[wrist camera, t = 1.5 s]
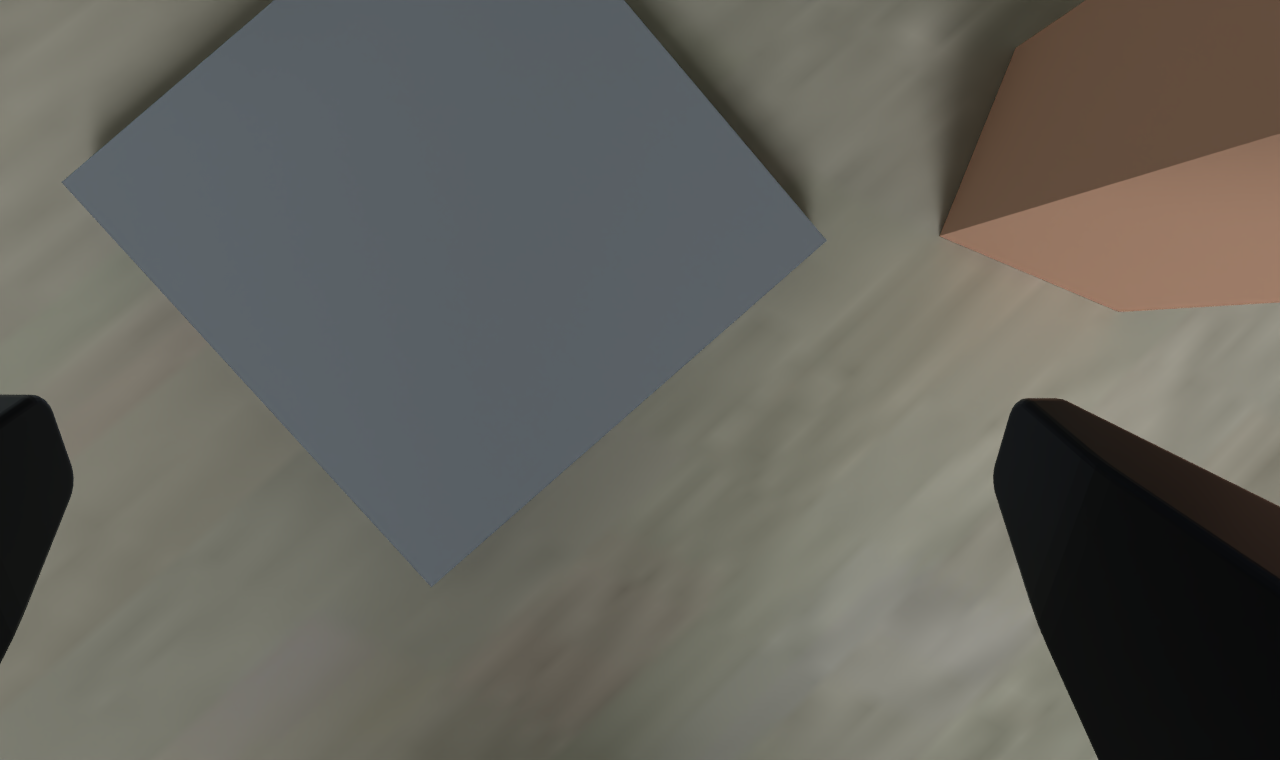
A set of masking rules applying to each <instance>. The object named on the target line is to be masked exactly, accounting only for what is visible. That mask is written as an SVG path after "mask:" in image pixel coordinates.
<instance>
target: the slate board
mask: <svg viewBox="0 0 1280 760" xmlns="http://www.w3.org/2000/svg"><path fill="white" fill-rule="evenodd" d="M62 183H63V184H64V185H65V187H66V188H67V189H68V190H69V191H70V192H71V193H72V194H73V195H74V196H75V198H76V199H77V200H78V201H79V202H80V203H81V204H82V205H83V206H84V207H85V208H86V210H87V211H88V212H89V213H90V214H91V215H92V216H93V217H94V218H95V219H96V220H97V222H98V223H99V224H100V225H101V226H102V227H103V228H104V229H105V230H106V231H107V233H108V234H109V235H110V236H111V237H112V238H113V239H114V240H115V241H116V242H117V243H118V245H119V246H120V247H121V248H122V249H123V250H124V251H125V252H126V253H127V254H128V256H129V257H130V258H131V259H132V260H133V261H134V262H135V263H136V264H137V265H138V266H139V268H140V269H141V270H142V271H143V272H144V273H145V274H146V275H147V276H148V277H149V279H150V280H151V281H152V282H153V283H154V284H155V285H156V286H157V287H158V288H159V289H160V291H161V292H162V293H163V294H164V295H165V296H166V297H167V298H168V299H169V300H170V302H171V303H172V304H173V305H174V306H175V307H176V308H177V309H178V310H179V311H180V312H181V314H182V315H183V316H184V317H185V318H186V319H187V320H188V321H189V322H190V323H191V324H192V326H193V327H194V328H195V329H196V330H197V331H198V332H199V333H200V334H201V335H202V337H203V338H204V339H205V340H206V341H207V342H208V343H209V344H210V345H211V346H212V347H213V349H214V350H215V351H216V352H217V353H218V354H219V355H220V356H221V357H222V358H223V360H224V361H225V362H226V363H227V364H228V365H229V366H230V367H231V368H232V369H233V370H234V372H235V373H236V374H237V375H238V376H239V377H240V378H241V379H242V380H243V381H244V383H245V384H246V385H247V386H248V387H249V388H250V389H251V390H252V391H253V392H254V393H255V395H256V396H257V397H258V398H259V399H260V400H261V401H262V402H263V403H264V404H265V405H266V407H267V408H268V409H269V410H270V411H271V412H272V413H273V414H274V415H275V416H276V418H277V419H278V420H279V421H280V422H281V423H282V424H283V425H284V426H285V427H286V428H287V430H288V431H289V432H290V433H291V434H292V435H293V436H294V437H295V438H296V439H297V441H298V442H299V443H300V444H301V445H302V446H303V447H304V448H305V449H306V450H307V451H308V453H309V454H310V455H311V456H312V457H313V458H314V459H315V460H316V461H317V462H318V464H319V465H320V466H321V467H322V468H323V469H324V470H325V471H326V472H327V473H328V474H329V476H330V477H331V478H332V479H333V480H334V481H335V482H336V483H337V484H338V485H339V486H340V488H341V489H342V490H343V491H344V492H345V493H346V494H347V495H348V496H349V497H350V499H351V500H352V501H353V502H354V503H355V504H356V505H357V506H358V507H359V508H360V509H361V511H362V512H363V513H364V514H365V515H366V516H367V517H368V518H369V519H370V520H371V522H372V523H373V524H374V525H375V526H376V527H377V528H378V529H379V530H380V531H381V532H382V534H383V535H384V536H385V537H386V538H387V539H388V540H389V541H390V542H391V543H392V545H393V546H394V547H395V548H396V549H397V550H398V551H399V552H400V553H401V554H402V555H403V557H404V558H405V559H406V560H407V561H408V562H409V563H410V564H411V565H412V566H413V567H414V569H415V570H416V571H417V572H418V573H419V574H420V575H421V576H422V577H423V578H424V580H425V581H426V582H427V583H428V584H429V585H430V586H431V587H432V586H433V585H434V584H435V583H437V582H438V581H439V580H440V579H441V578H442V577H443V576H445V575H446V574H447V573H448V572H449V571H450V570H451V569H453V568H454V567H455V566H456V565H457V564H458V563H459V562H461V561H462V560H463V559H464V558H465V557H466V556H467V555H469V554H470V553H471V552H472V551H473V550H474V549H475V548H477V547H478V546H479V545H480V544H481V543H482V542H483V541H485V540H486V539H487V538H488V537H489V536H490V535H491V534H493V533H494V532H495V531H496V530H497V529H498V528H499V527H500V526H502V525H503V524H504V523H505V522H506V521H507V520H508V519H510V518H511V517H512V516H513V515H514V514H515V513H516V512H518V511H519V510H520V509H521V508H522V507H523V506H524V505H526V504H527V503H528V502H529V501H530V500H531V499H532V498H534V497H535V496H536V495H537V494H538V493H539V492H540V491H542V490H543V489H544V488H545V487H546V486H547V485H548V484H550V483H551V482H552V481H553V480H554V479H555V478H556V477H558V476H559V475H560V474H561V473H562V472H563V471H564V470H566V469H567V468H568V467H569V466H570V465H571V464H572V463H573V462H575V461H576V460H577V459H578V458H579V457H580V456H581V455H583V454H584V453H585V452H586V451H587V450H588V449H589V448H591V447H592V446H593V445H594V444H595V443H596V442H597V441H599V440H600V439H601V438H602V437H603V436H604V435H605V434H607V433H608V432H609V431H610V430H611V429H612V428H613V427H615V426H616V425H617V424H618V423H619V422H620V421H621V420H623V419H624V418H625V417H626V416H627V415H628V414H629V413H631V412H632V411H633V410H634V409H635V408H636V407H637V406H639V405H640V404H641V403H642V402H643V401H644V400H645V399H646V398H648V397H649V396H650V395H651V394H652V393H653V392H654V391H656V390H657V389H658V388H659V387H660V386H661V385H662V384H664V383H665V382H666V381H667V380H668V379H669V378H670V377H672V376H673V375H674V374H675V373H676V372H677V371H678V370H680V369H681V368H682V367H683V366H684V365H685V364H686V363H688V362H689V361H690V360H691V359H692V358H693V357H694V356H696V355H697V354H698V353H699V352H700V351H701V350H702V349H704V348H705V347H706V346H707V345H708V344H709V343H710V342H712V341H713V340H714V339H715V338H716V337H717V336H718V335H719V334H721V333H722V332H723V331H724V330H725V329H726V328H727V327H729V326H730V325H731V324H732V323H733V322H734V321H735V320H737V319H738V318H739V317H740V316H741V315H742V314H743V313H745V312H746V311H747V310H748V309H749V308H750V307H751V306H753V305H754V304H755V303H756V302H757V301H758V300H759V299H761V298H762V297H763V296H764V295H765V294H766V293H767V292H769V291H770V290H771V289H772V288H773V287H774V286H775V285H777V284H778V283H779V282H780V281H781V280H782V279H783V278H784V277H786V276H787V275H788V274H789V273H790V272H791V271H792V270H794V269H795V268H796V267H797V266H798V265H799V264H800V263H802V262H803V261H804V260H805V259H806V258H807V257H808V256H810V255H811V254H812V253H813V252H814V251H815V250H816V249H818V248H819V247H820V246H821V245H822V244H823V243H824V242H826V241H827V240H826V239H825V238H824V237H823V236H822V234H821V233H820V232H819V231H818V230H817V228H816V227H815V226H814V225H813V224H812V223H811V221H810V220H809V219H808V218H807V217H806V215H805V214H804V213H803V212H802V211H801V209H800V208H799V207H798V206H797V205H796V204H795V202H794V201H793V200H792V199H791V198H790V196H789V195H788V194H787V193H786V192H785V190H784V189H783V188H782V187H781V186H780V185H779V183H778V182H777V181H776V180H775V179H774V177H773V176H772V175H771V174H770V173H769V171H768V170H767V169H766V168H765V167H764V166H763V164H762V163H761V162H760V161H759V160H758V158H757V157H756V156H755V155H754V154H753V153H752V151H751V150H750V149H749V148H748V147H747V145H746V144H745V143H744V142H743V141H742V139H741V138H740V137H739V136H738V135H737V134H736V132H735V131H734V130H733V129H732V128H731V126H730V125H729V124H728V123H727V122H726V120H725V119H724V118H723V117H722V116H721V115H720V113H719V112H718V111H717V110H716V109H715V107H714V106H713V105H712V104H711V103H710V102H709V100H708V99H707V98H706V97H705V96H704V94H703V93H702V92H701V91H700V90H699V88H698V87H697V86H696V85H695V84H694V83H693V81H692V80H691V79H690V78H689V77H688V75H687V74H686V73H685V72H684V71H683V69H682V68H681V67H680V66H679V65H678V64H677V62H676V61H675V60H674V59H673V58H672V56H671V55H670V54H669V53H668V52H667V51H666V49H665V48H664V47H663V46H662V45H661V43H660V42H659V41H658V40H657V39H656V37H655V36H654V35H653V34H652V33H651V32H650V30H649V29H648V28H647V27H646V26H645V24H644V23H643V22H642V21H641V20H640V18H639V17H638V16H637V15H636V14H635V13H634V11H633V10H632V9H631V8H630V7H629V5H628V4H627V3H626V2H625V1H624V0H274V1H273V2H271V3H270V4H269V5H268V6H267V7H266V8H264V9H263V10H262V11H261V12H260V13H259V14H257V15H256V16H255V17H254V18H253V19H252V20H250V21H249V22H248V23H247V24H246V25H245V26H243V27H242V28H241V29H240V30H239V31H238V32H236V33H235V34H234V35H233V36H232V37H231V38H229V39H228V40H227V41H226V42H225V43H224V44H222V45H221V46H220V47H219V48H218V49H217V50H215V51H214V52H213V53H212V54H211V55H210V56H208V57H207V58H206V59H205V60H204V61H203V62H201V63H200V64H199V65H198V66H197V67H196V68H194V69H193V70H192V71H191V72H190V73H189V74H187V75H186V76H185V77H184V78H183V79H181V80H180V81H179V82H178V83H177V84H176V85H174V86H173V87H172V88H171V89H170V90H169V91H167V92H166V93H165V94H164V95H163V96H162V97H160V98H159V99H158V100H157V101H156V102H155V103H153V104H152V105H151V106H150V107H149V108H148V109H146V110H145V111H144V112H143V113H142V114H141V115H139V116H138V117H137V118H136V119H135V120H134V121H132V122H131V123H130V124H129V125H128V126H127V127H125V128H124V129H123V130H122V131H121V132H120V133H118V134H117V135H116V136H115V137H114V138H113V139H111V140H110V141H109V142H108V143H107V144H106V145H104V146H103V147H102V148H101V149H100V150H99V151H97V152H96V153H95V154H94V155H93V156H92V157H90V158H89V159H88V160H87V161H86V162H85V163H83V164H82V165H81V166H80V167H79V168H78V169H76V170H75V171H74V172H73V173H72V174H71V175H69V176H68V177H67V178H66V179H65V180H64V181H62Z"/></svg>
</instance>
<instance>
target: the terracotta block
mask: <svg viewBox="0 0 1280 760" xmlns="http://www.w3.org/2000/svg"><path fill="white" fill-rule="evenodd" d="M940 237H943V238H945V239H947V240H950V241H952V242H955V243H957V244H959V245H962V246H964V247H966V248H969V249H971V250H973V251H976V252H978V253H981V254H983V255H985V256H988V257H990V258H992V259H995V260H997V261H1000V262H1002V263H1004V264H1007V265H1009V266H1011V267H1014V268H1016V269H1019V270H1021V271H1023V272H1026V273H1028V274H1030V275H1033V276H1035V277H1037V278H1040V279H1042V280H1045V281H1047V282H1049V283H1052V284H1054V285H1056V286H1059V287H1061V288H1064V289H1066V290H1068V291H1071V292H1073V293H1075V294H1078V295H1080V296H1082V297H1085V298H1087V299H1090V300H1092V301H1094V302H1097V303H1099V304H1101V305H1104V306H1106V307H1109V308H1111V309H1113V310H1116V311H1118V312H1124V311H1141V310H1158V309H1175V308H1192V307H1209V306H1225V305H1242V304H1259V303H1276V302H1280V0H1085V1H1084V2H1082V3H1081V4H1079V5H1078V6H1076V7H1075V8H1074V9H1072V10H1071V11H1069V12H1068V13H1066V14H1065V15H1063V16H1062V17H1060V18H1059V19H1057V20H1056V21H1054V22H1053V23H1052V24H1050V25H1049V26H1047V27H1046V28H1044V29H1043V30H1041V31H1040V32H1038V33H1037V34H1035V35H1034V36H1033V37H1031V38H1030V39H1028V40H1027V41H1025V42H1024V43H1022V44H1021V45H1019V46H1018V47H1016V48H1015V51H1014V53H1013V56H1012V58H1011V61H1010V63H1009V66H1008V68H1007V70H1006V73H1005V75H1004V78H1003V80H1002V83H1001V85H1000V88H999V90H998V93H997V95H996V98H995V100H994V103H993V105H992V108H991V110H990V112H989V115H988V117H987V120H986V122H985V125H984V127H983V130H982V132H981V135H980V137H979V140H978V142H977V145H976V147H975V150H974V152H973V154H972V157H971V159H970V162H969V164H968V167H967V169H966V172H965V174H964V177H963V179H962V182H961V184H960V187H959V189H958V192H957V194H956V196H955V199H954V201H953V204H952V206H951V209H950V211H949V214H948V216H947V219H946V221H945V224H944V226H943V229H942V231H941V234H940Z"/></svg>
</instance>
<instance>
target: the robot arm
mask: <svg viewBox="0 0 1280 760" xmlns="http://www.w3.org/2000/svg"><path fill="white" fill-rule="evenodd" d="M993 483H994V490H995V494H996V497H997V500H998V503H999V507H1000V510H1001V513H1002V516H1003V519H1004V522H1005V525H1006V529H1007V532H1008V535H1009V538H1010V541H1011V544H1012V547H1013V550H1014V554H1015V557H1016V560H1017V563H1018V566H1019V569H1020V572H1021V575H1022V579H1023V582H1024V585H1025V588H1026V591H1027V594H1028V597H1029V601H1030V603H1031V606H1032V609H1033V612H1034V615H1035V617H1036V620H1037V623H1038V626H1039V628H1040V630H1041V633H1042V635H1043V637H1044V640H1045V642H1046V645H1047V647H1048V649H1049V651H1050V654H1051V656H1052V658H1053V660H1054V662H1055V665H1056V667H1057V669H1058V671H1059V673H1060V676H1061V678H1062V680H1063V682H1064V685H1065V687H1066V689H1067V691H1068V693H1069V696H1070V698H1071V700H1072V702H1073V704H1074V707H1075V709H1076V711H1077V713H1078V715H1079V718H1080V720H1081V722H1082V724H1083V727H1084V729H1085V731H1086V733H1087V735H1088V738H1089V740H1090V742H1091V744H1092V746H1093V749H1094V751H1095V753H1096V755H1097V758H1098V760H1280V507H1279V506H1277V505H1275V504H1273V503H1271V502H1269V501H1267V500H1265V499H1263V498H1261V497H1259V496H1257V495H1255V494H1253V493H1251V492H1249V491H1247V490H1245V489H1243V488H1241V487H1239V486H1237V485H1235V484H1233V483H1231V482H1229V481H1227V480H1225V479H1223V478H1221V477H1219V476H1217V475H1215V474H1213V473H1211V472H1209V471H1207V470H1205V469H1203V468H1201V467H1199V466H1197V465H1195V464H1193V463H1191V462H1189V461H1187V460H1185V459H1183V458H1181V457H1179V456H1177V455H1175V454H1173V453H1171V452H1169V451H1166V450H1164V449H1162V448H1160V447H1158V446H1156V445H1154V444H1152V443H1150V442H1148V441H1146V440H1144V439H1142V438H1140V437H1138V436H1136V435H1134V434H1132V433H1130V432H1128V431H1126V430H1124V429H1122V428H1120V427H1118V426H1116V425H1114V424H1112V423H1110V422H1108V421H1106V420H1104V419H1102V418H1100V417H1098V416H1096V415H1094V414H1092V413H1090V412H1088V411H1086V410H1084V409H1082V408H1080V407H1078V406H1076V405H1074V404H1072V403H1070V402H1068V401H1065V400H1063V399H1057V398H1027V399H1022V400H1020V401H1019V402H1017V403H1016V404H1015V405H1014V407H1013V408H1012V410H1011V413H1010V415H1009V419H1008V422H1007V426H1006V429H1005V432H1004V436H1003V439H1002V443H1001V446H1000V449H999V453H998V456H997V460H996V463H995V467H994V474H993ZM72 489H73V470H72V466H71V463H70V460H69V457H68V454H67V451H66V449H65V446H64V443H63V440H62V437H61V434H60V431H59V429H58V426H57V423H56V420H55V417H54V414H53V412H52V409H51V407H50V406H49V404H48V403H47V402H46V401H45V400H44V399H42V398H41V397H39V396H36V395H0V663H1V661H2V659H3V657H4V655H5V653H6V651H7V649H8V647H9V645H10V643H11V641H12V639H13V637H14V635H15V633H16V630H17V628H18V626H19V624H20V621H21V619H22V617H23V615H24V612H25V610H26V607H27V605H28V602H29V600H30V597H31V595H32V592H33V590H34V587H35V585H36V582H37V580H38V577H39V575H40V572H41V570H42V567H43V565H44V562H45V560H46V557H47V555H48V552H49V550H50V547H51V545H52V542H53V540H54V537H55V535H56V532H57V530H58V527H59V525H60V522H61V520H62V517H63V515H64V512H65V510H66V507H67V505H68V502H69V500H70V497H71V494H72Z"/></svg>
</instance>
